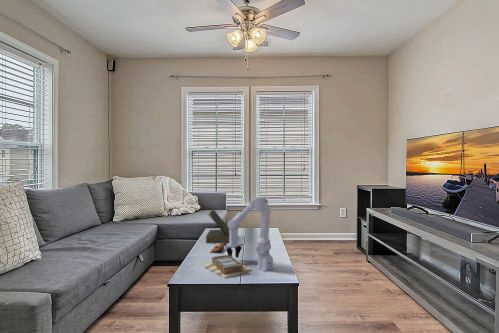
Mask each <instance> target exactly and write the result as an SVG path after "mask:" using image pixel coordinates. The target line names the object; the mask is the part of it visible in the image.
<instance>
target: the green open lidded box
mask: <svg viewBox="0 0 499 333" xmlns="http://www.w3.org/2000/svg"><path fill="white" fill-rule="evenodd" d="M208 217H210V219H211V220H212V221H213V222H214V223H215V224H216V226H218V228H219V229H209V231H208V232H207V234H206V235H205V239H206V240H205V244H221V243H224V242H225V243H226V244H229V228H228V224H227V223H226V222H224V220H223V218H221V216H219V214H218V213H217V212H216V211H215V209H212V210H211V211H210V212H209V213H208Z"/></svg>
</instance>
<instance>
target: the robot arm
mask: <svg viewBox="0 0 499 333" xmlns="http://www.w3.org/2000/svg"><path fill="white" fill-rule="evenodd" d="M254 209H255V210H257V211H258V212H260V213H261V216H260V217H261V219H260V230H259V232H260V233H259V239H258V241H257V245H256V246H255V251H256V253H257V265H255V266H254V267H255V268H256V269H259V270H261V271H263V272H267V271H269V270H273V269H274V257H273V256H272V255H271V254H270V250H271V249H272V245H271V239H270V238H269V235H270V222H271V221H270V220H271V208H270V204H269V200H268V199H267V198H266V197H265V196H260V197H255V198H253V199H252V200H250V202H249V203H248V204H247V205H246V207H245V208H244V209H243V210H242V211H240V212H237V213H236V214H235V216H234V217H233V218H232V220H229V221H228V222H227V226H228V228H229V243H228V244H227V245H226V246H224V249H223V250H224V251H226V253H227V255H230V256H232V257H233V251H235V252H234V253H235V254H234V255H235V259H238V258H239V256H240V254H241V251H242V247H243V246H244V242H239V228H240V226H241V224H242V223H243V222H244V220H246V216H247V215H248V214H249V213H250V212H251V211H252V210H254Z"/></svg>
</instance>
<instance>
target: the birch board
mask: <svg viewBox="0 0 499 333" xmlns="http://www.w3.org/2000/svg"><path fill="white" fill-rule="evenodd" d="M242 265H243V271H240V272H234V273H228V274H223V273H222V272H221V271H220V270H219V269H218V268H217V267H216V266H215V265H214V264H213V263H212V262H210V263H206V264H203V265H202V267H203V268H204V269H206V270H208V271H210V272H212V273H214V274H216V276H219V277H221V278H223V279H227V278H230V277H231V278H232V277H234V276H237V275H241V274H244V273H248V272H250V271H252V268H250V267H248V266H246V265H244V264H242Z"/></svg>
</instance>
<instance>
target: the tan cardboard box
mask: <svg viewBox="0 0 499 333" xmlns="http://www.w3.org/2000/svg"><path fill="white" fill-rule="evenodd" d="M211 263H213V264H214V265H215V266H216V267H217V268H218V269H219V270H220V271H221V272H222V273H223V274H228V273H234V272H240V271H243V265H244V264H242V263H241V262H239V261H238V260H237V259H236V258H234V257H233V255H232V256H230V255H228V254H224V255H218V256H212V257H211Z"/></svg>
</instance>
